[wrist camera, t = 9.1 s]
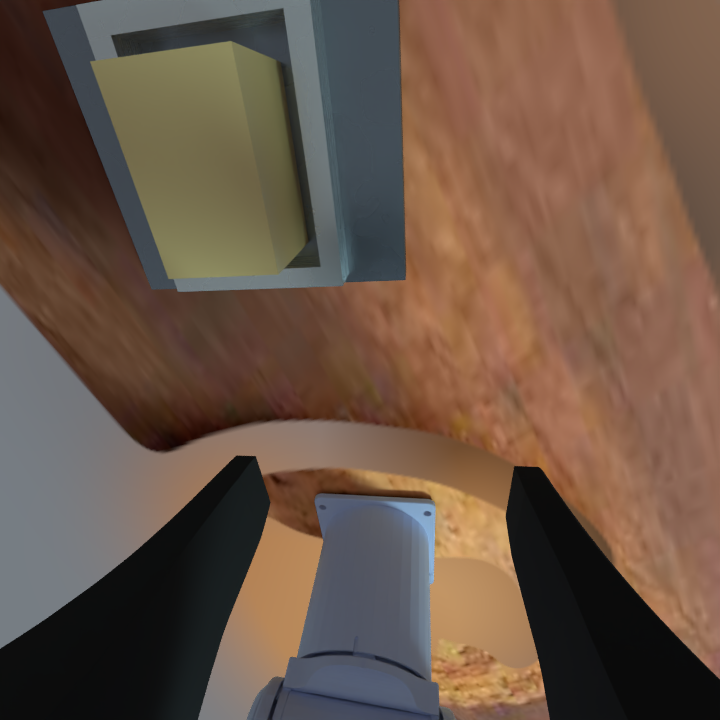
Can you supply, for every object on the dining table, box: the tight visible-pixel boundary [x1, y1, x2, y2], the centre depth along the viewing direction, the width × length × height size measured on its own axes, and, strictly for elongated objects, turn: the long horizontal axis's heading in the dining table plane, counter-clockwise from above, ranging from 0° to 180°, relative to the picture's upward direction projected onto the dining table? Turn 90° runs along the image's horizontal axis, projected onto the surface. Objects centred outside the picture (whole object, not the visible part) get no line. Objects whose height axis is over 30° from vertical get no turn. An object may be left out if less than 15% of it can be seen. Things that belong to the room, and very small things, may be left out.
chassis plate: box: [43, 0, 406, 292], centre depth 14 cm, size 10×12×2 cm
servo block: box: [90, 41, 308, 279], centre depth 13 cm, size 6×4×4 cm, turn 5°
